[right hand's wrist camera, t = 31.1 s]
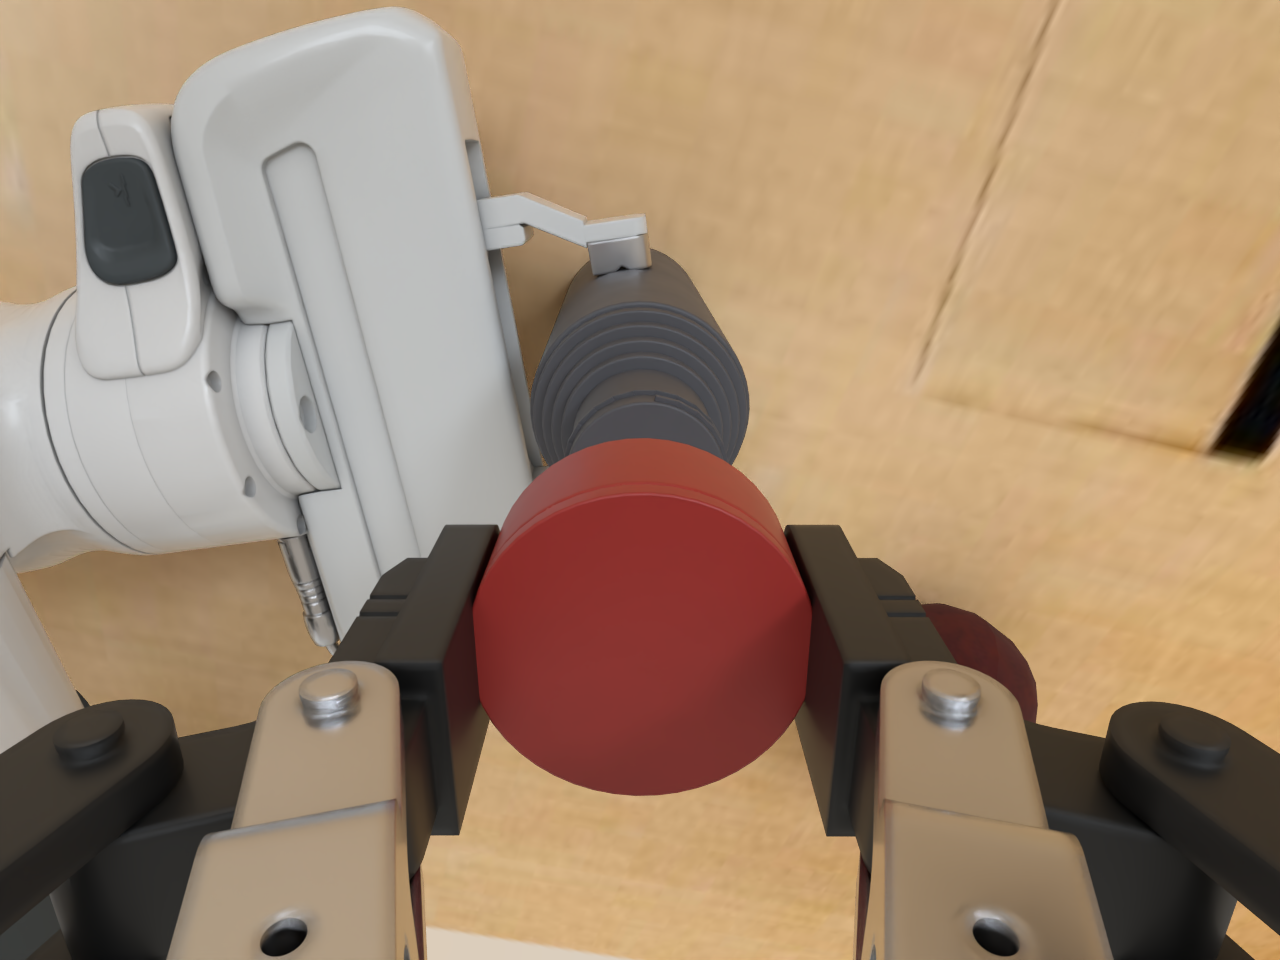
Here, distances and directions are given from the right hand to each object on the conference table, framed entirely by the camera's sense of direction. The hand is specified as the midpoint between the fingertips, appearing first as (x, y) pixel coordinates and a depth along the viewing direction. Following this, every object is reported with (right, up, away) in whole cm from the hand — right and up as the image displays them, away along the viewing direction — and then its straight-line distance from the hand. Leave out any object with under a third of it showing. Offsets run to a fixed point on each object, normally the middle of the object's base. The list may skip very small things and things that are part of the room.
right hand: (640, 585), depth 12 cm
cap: (0, -1, -2) cm, 2 cm away
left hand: (+1, +6, +14) cm, 15 cm away
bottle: (0, +8, +20) cm, 21 cm away
